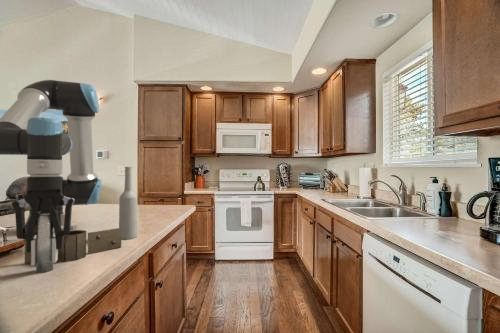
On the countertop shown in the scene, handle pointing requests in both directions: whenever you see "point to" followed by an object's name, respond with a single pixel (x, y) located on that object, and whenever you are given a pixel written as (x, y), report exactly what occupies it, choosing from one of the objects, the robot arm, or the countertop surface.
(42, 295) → the countertop surface
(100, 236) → the loose leaf
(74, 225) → the pipe connector
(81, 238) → the knuckle and fixed leaf
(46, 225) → the hinge pin
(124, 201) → the bottle
